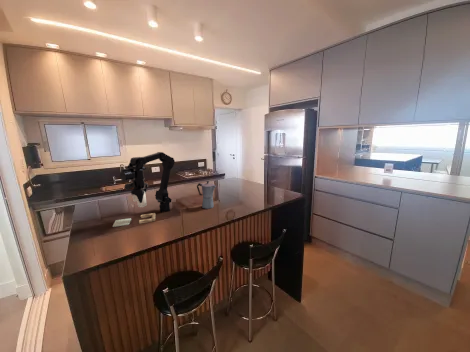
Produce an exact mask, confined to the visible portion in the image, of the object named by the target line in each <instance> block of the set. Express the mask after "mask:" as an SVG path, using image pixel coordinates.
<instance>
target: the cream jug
mask: <svg viewBox="0 0 470 352" xmlns="http://www.w3.org/2000/svg"><path fill="white" fill-rule="evenodd" d="M146 194H147V193H146ZM146 194H145V191H144V196H143V200H142V203H140V202H139V200H138V198H137V196H136V195H132V196H131V197H132V202H137V203H136V204H137V207H138V208H144V207H147V206H148V205H147V196H146Z"/></svg>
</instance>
